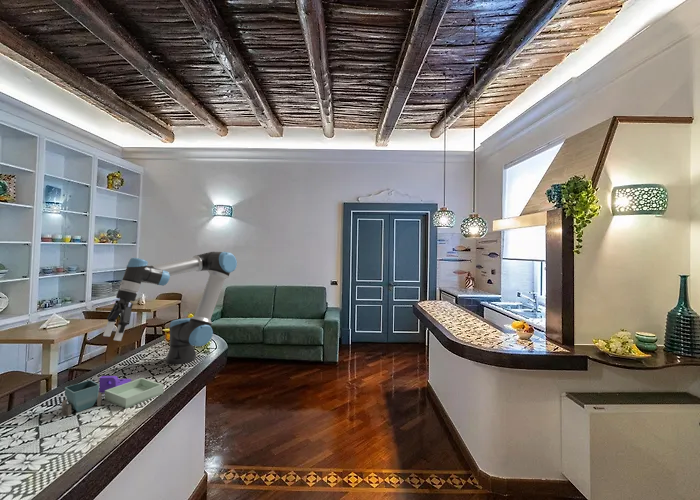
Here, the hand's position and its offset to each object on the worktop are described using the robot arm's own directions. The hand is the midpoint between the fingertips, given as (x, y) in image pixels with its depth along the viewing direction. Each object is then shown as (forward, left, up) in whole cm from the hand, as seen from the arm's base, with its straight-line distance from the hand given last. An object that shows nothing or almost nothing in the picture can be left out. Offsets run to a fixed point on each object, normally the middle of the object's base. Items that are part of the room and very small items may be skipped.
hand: (111, 338), depth 150 cm
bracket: (-3, -5, -24) cm, 25 cm away
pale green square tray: (-4, +13, -24) cm, 27 cm away
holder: (+13, +8, -24) cm, 28 cm away
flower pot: (+13, +8, -24) cm, 28 cm away
